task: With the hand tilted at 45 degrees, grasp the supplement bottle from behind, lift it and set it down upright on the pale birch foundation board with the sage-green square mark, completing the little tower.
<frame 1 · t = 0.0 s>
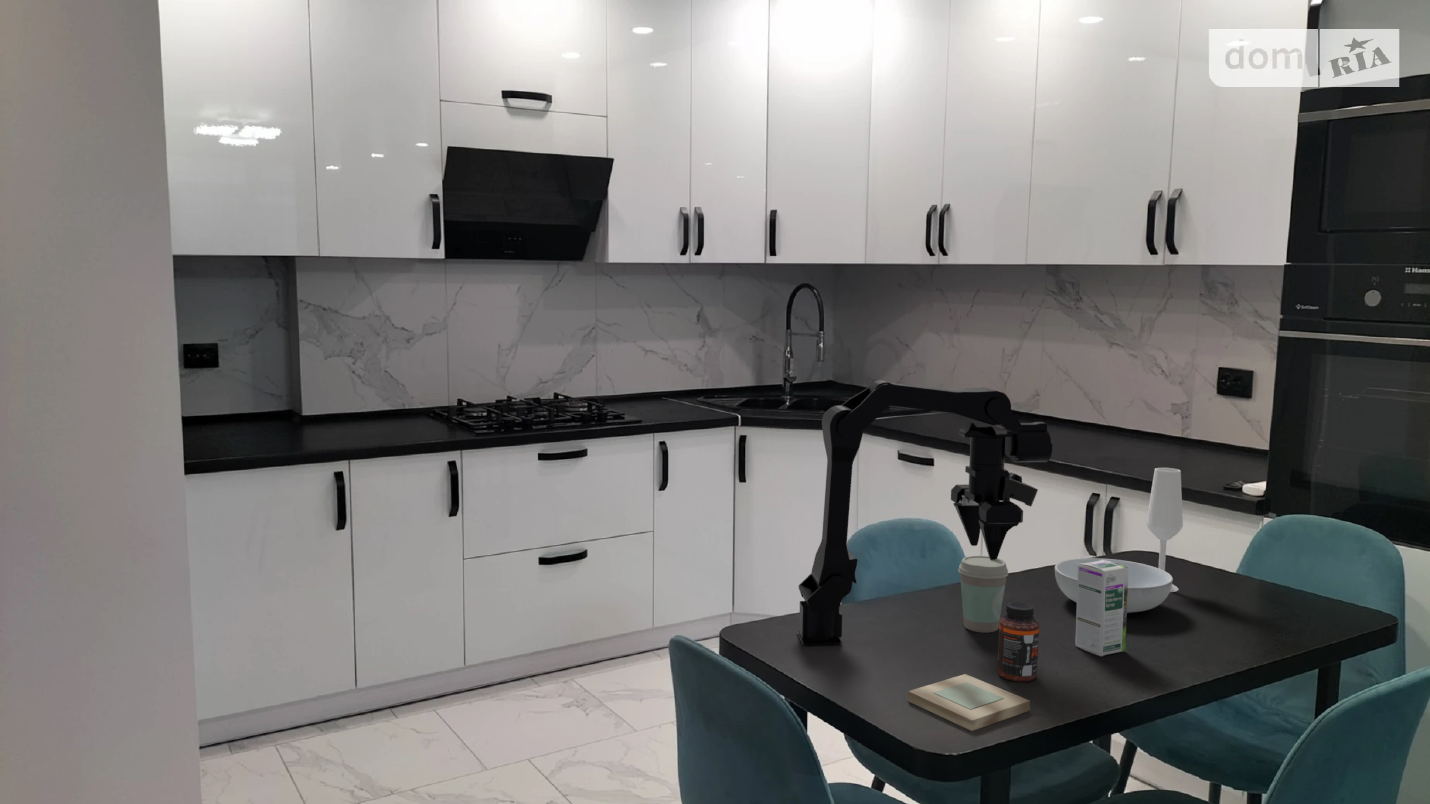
hand: (983, 552, 176), 15 cm above the table, tool pointing down, fingers open, 9 cm apart
foundation board: (968, 705, 148), on the table
serving bowl: (1110, 607, 195), on the table
supplement bottle: (1016, 677, 159), on the table
champagne flute: (1160, 588, 207), on the table
coffee cup: (981, 628, 182), on the table
syrup box: (1099, 650, 172), on the table
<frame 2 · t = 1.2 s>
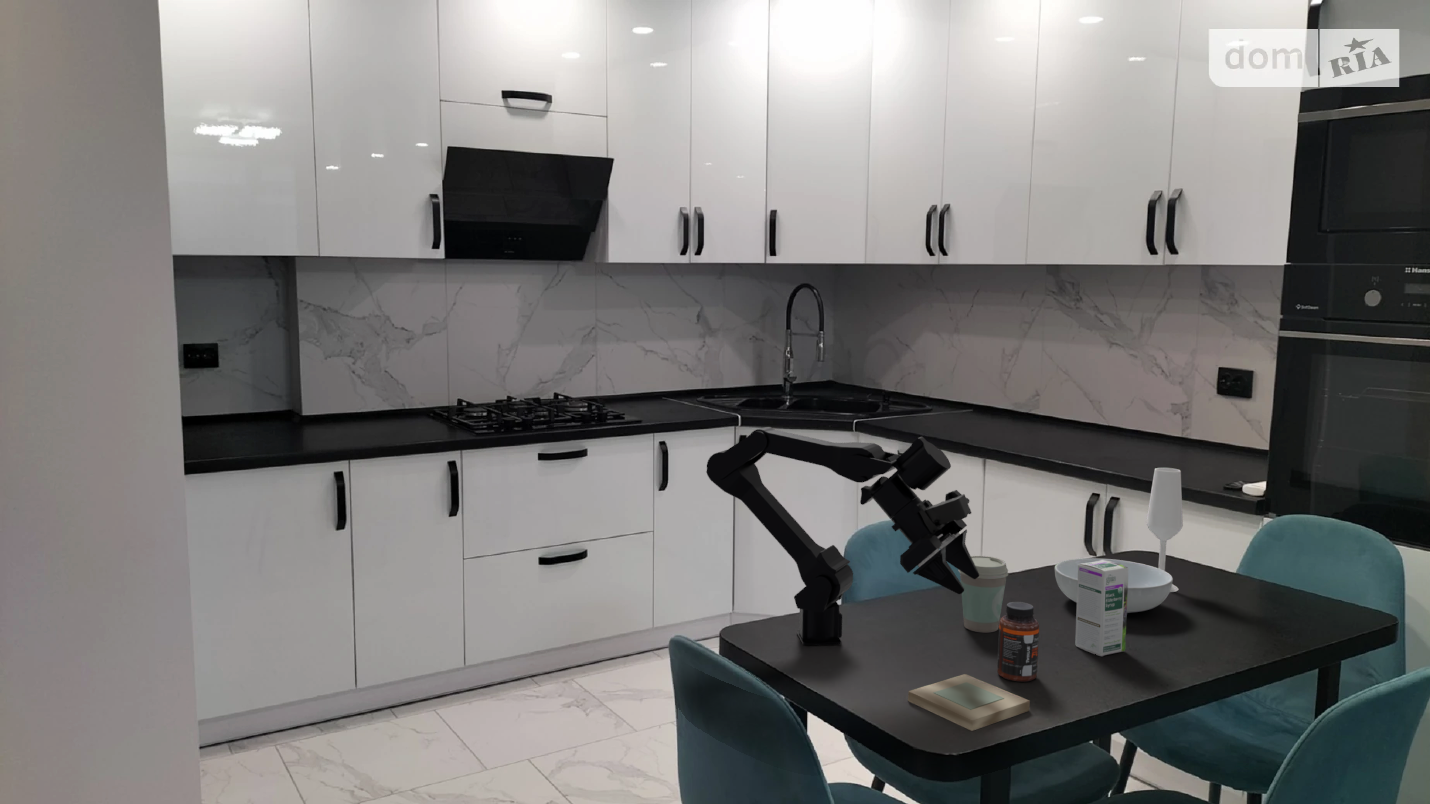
hand: (970, 584, 161), 13 cm above the table, tool tilted 45°, fingers open, 9 cm apart
nothing on the table moved.
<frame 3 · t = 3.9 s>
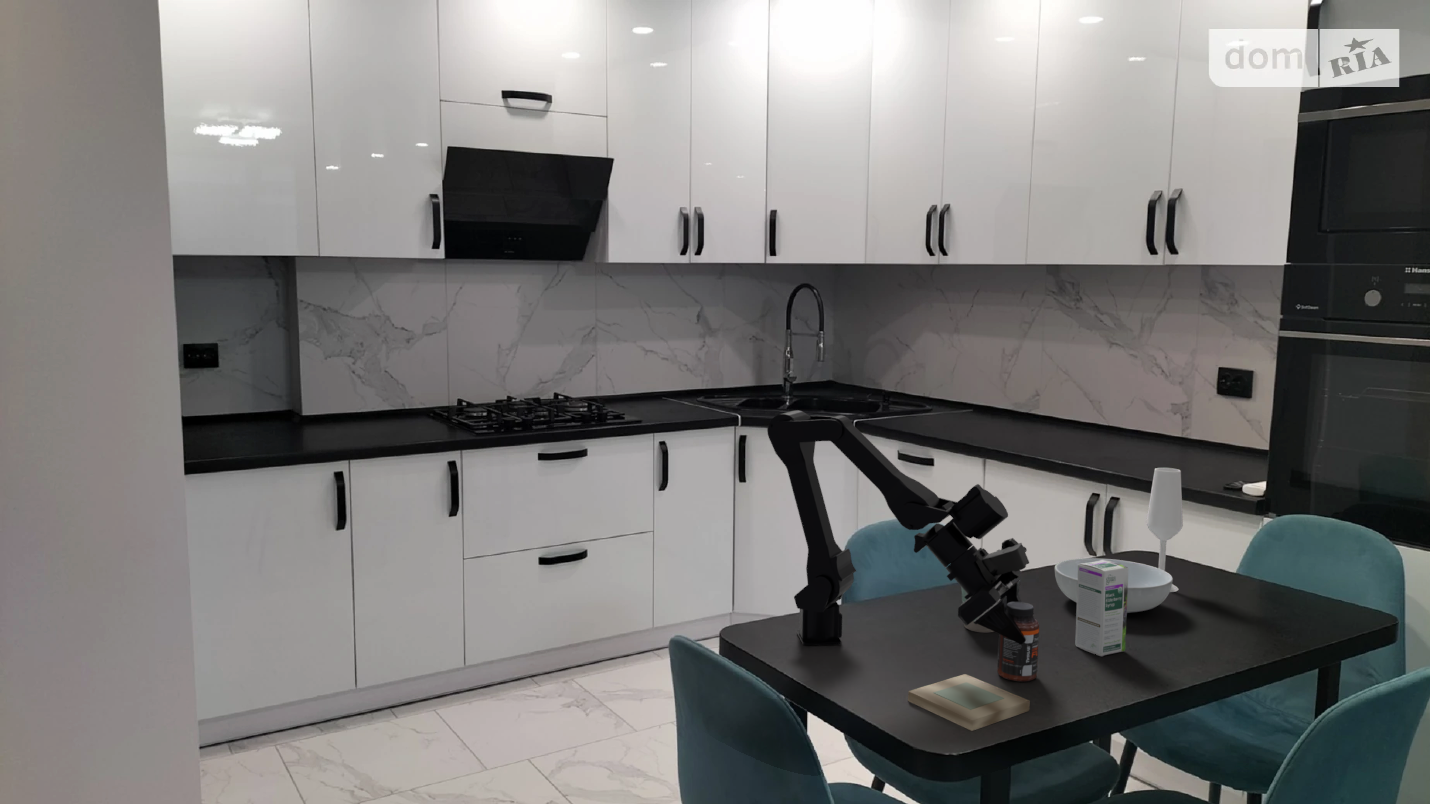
hand: (1028, 636, 158), 7 cm above the table, tool tilted 45°, fingers closed on supplement bottle, 6 cm apart
supplement bottle: (1016, 677, 159), on the table, touching gripper
everything else where it was.
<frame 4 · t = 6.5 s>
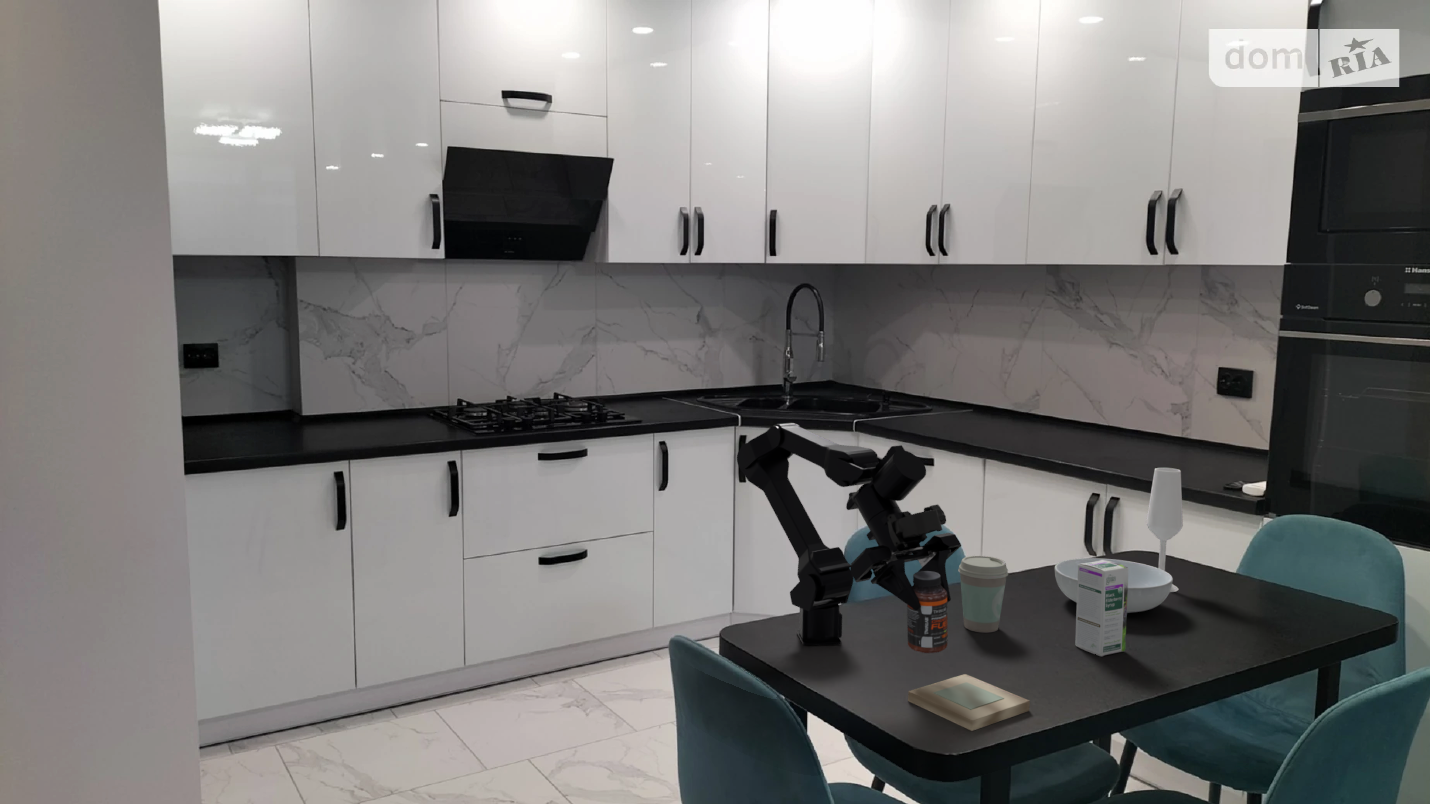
hand: (933, 605, 152), 13 cm above the table, tool tilted 45°, fingers closed on supplement bottle, 6 cm apart
supplement bottle: (927, 648, 155), point 6 cm above the table, touching gripper
everything else where it was.
when the fingers open (9 cm above the table, at t = 8.5 s): supplement bottle stays where it is, resting on foundation board.
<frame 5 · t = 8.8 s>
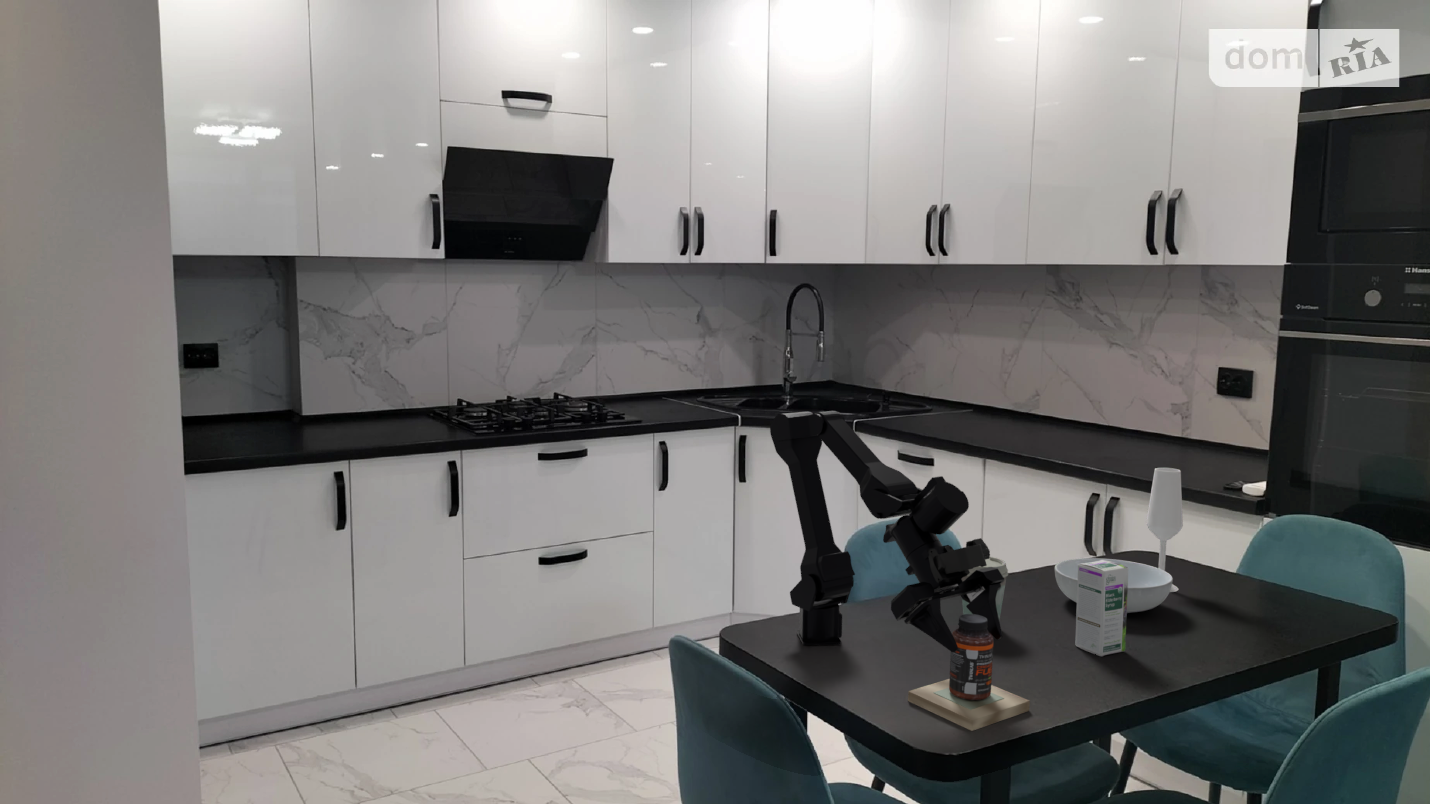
hand: (978, 644, 146), 10 cm above the table, tool tilted 45°, fingers open, 9 cm apart
supplement bottle: (969, 695, 148), point 1 cm above the table, touching foundation board
everything else where it was.
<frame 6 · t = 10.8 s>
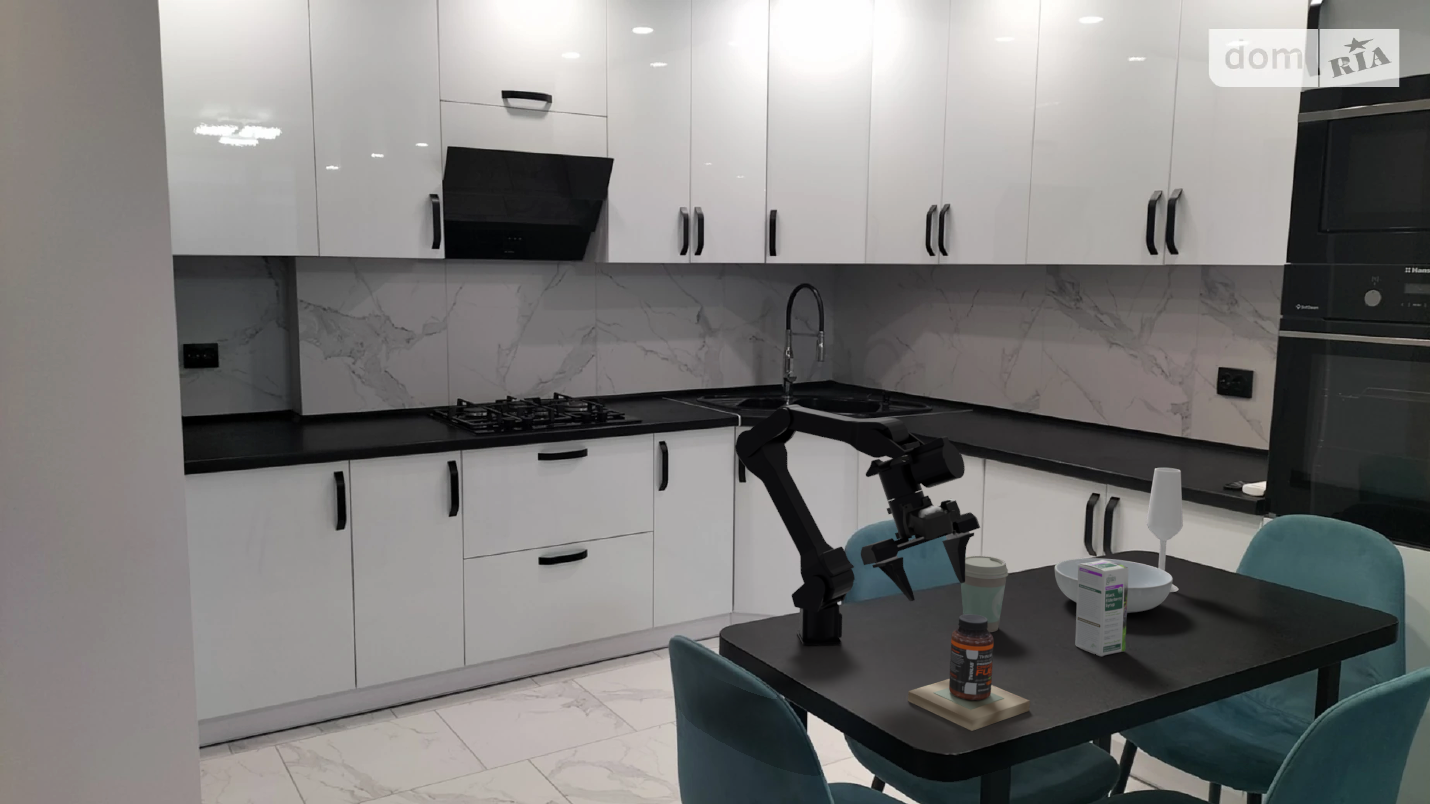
hand: (937, 591, 160), 13 cm above the table, tool tilted 25°, fingers open, 9 cm apart
nothing on the table moved.
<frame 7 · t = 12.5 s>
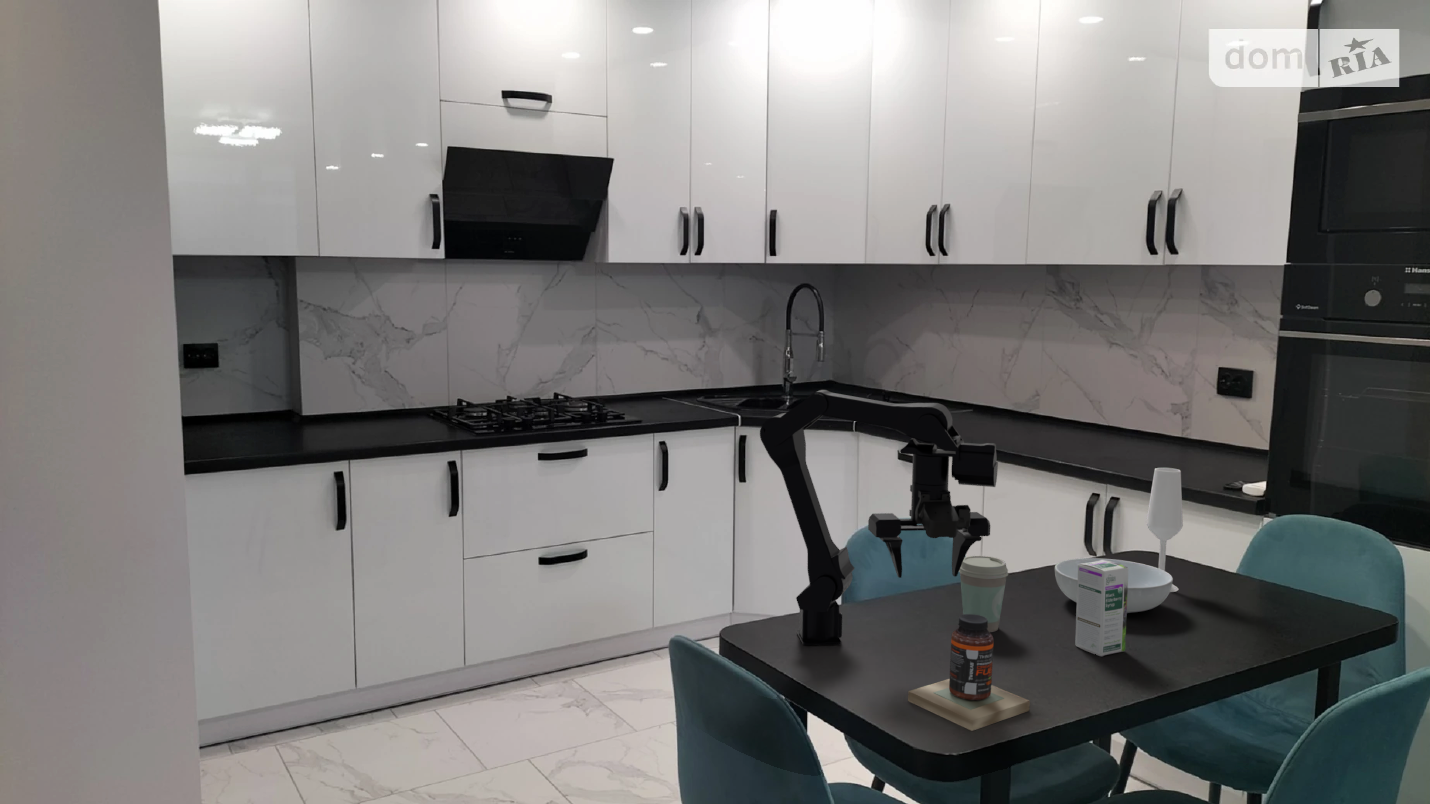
hand: (927, 576, 167), 13 cm above the table, tool pointing down, fingers open, 9 cm apart
nothing on the table moved.
at the end: supplement bottle inside the target area on the foundation board (0.6 cm from its centre), point 1.4 cm above the foundation board's base; supplement bottle tilted 0°; the gripper is holding nothing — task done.
